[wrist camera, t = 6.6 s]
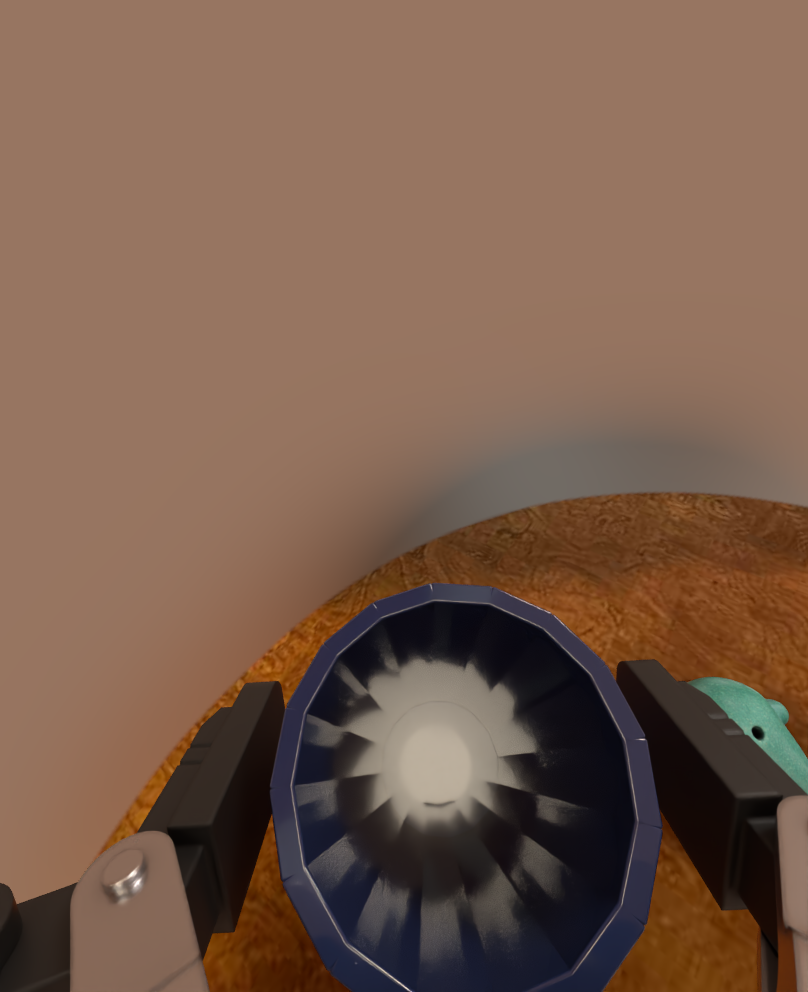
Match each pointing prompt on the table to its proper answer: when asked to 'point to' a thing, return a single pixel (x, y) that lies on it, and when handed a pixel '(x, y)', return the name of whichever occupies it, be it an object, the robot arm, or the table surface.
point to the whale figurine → (759, 723)
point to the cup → (464, 800)
